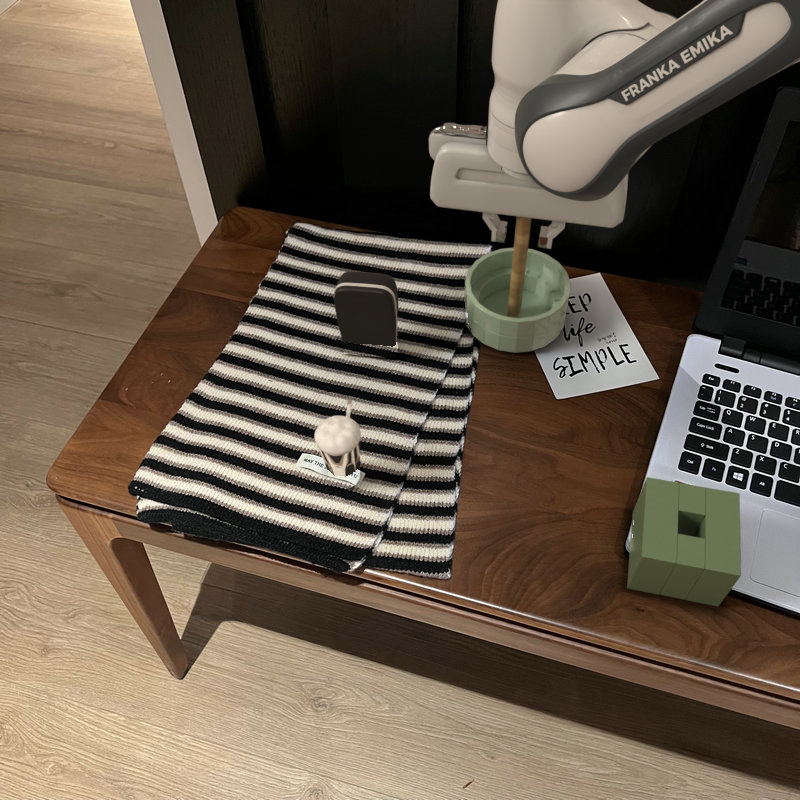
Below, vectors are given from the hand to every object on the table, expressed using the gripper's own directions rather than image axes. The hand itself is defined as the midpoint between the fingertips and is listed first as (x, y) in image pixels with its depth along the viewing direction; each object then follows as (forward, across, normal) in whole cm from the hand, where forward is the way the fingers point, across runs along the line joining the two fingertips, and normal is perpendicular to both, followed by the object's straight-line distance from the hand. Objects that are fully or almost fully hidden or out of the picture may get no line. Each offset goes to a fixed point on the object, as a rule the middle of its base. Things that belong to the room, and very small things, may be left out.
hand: (521, 241), depth 86 cm
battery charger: (+13, -16, -8) cm, 22 cm away
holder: (+12, +20, -28) cm, 37 cm away
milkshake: (+13, -14, -26) cm, 32 cm away
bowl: (+12, 0, 0) cm, 12 cm away
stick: (+4, 0, 0) cm, 4 cm away
